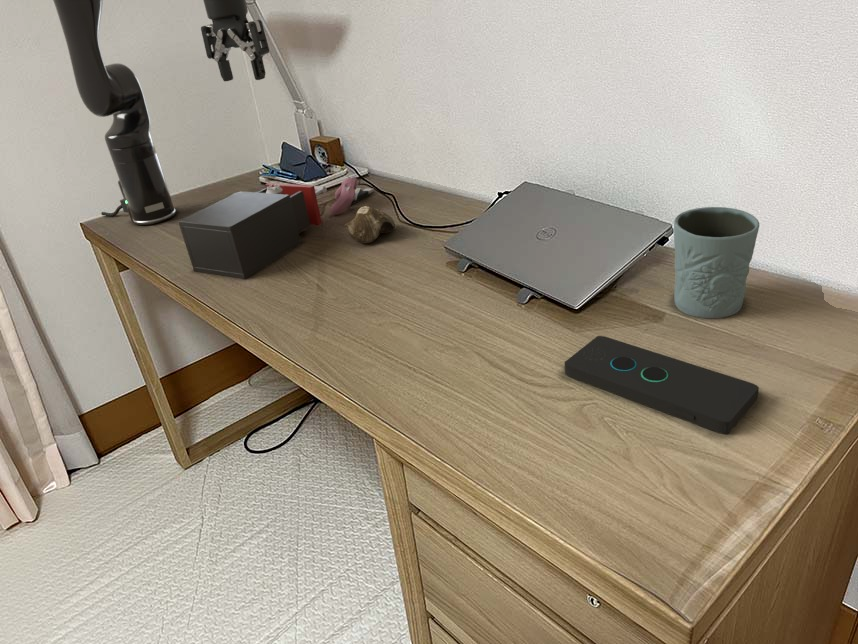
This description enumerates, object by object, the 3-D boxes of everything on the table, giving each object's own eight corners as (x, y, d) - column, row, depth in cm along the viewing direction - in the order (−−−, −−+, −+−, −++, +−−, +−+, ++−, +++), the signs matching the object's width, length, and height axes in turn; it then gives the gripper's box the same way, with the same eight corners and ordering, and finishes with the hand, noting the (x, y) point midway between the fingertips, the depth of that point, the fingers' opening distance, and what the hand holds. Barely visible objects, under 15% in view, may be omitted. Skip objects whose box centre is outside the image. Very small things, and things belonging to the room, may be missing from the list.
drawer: (296, 208, 148) (288, 172, 144) (340, 212, 142) (332, 175, 139) (229, 247, 133) (217, 208, 129) (274, 253, 127) (264, 212, 123)
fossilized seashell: (381, 210, 135) (338, 234, 132) (381, 188, 130) (336, 212, 126) (404, 236, 133) (360, 260, 129) (405, 214, 127) (360, 239, 123)
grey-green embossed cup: (692, 280, 100) (697, 201, 94) (763, 298, 93) (773, 214, 87) (655, 309, 94) (658, 227, 88) (728, 330, 87) (737, 242, 81)
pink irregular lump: (350, 221, 144) (359, 191, 140) (328, 214, 143) (337, 184, 140) (354, 203, 152) (362, 174, 149) (333, 197, 151) (342, 167, 148)
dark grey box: (251, 237, 139) (239, 191, 134) (301, 243, 132) (289, 194, 128) (193, 271, 127) (177, 221, 122) (244, 279, 121) (230, 226, 116)
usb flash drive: (350, 205, 148) (350, 201, 147) (332, 203, 150) (331, 199, 150) (374, 192, 154) (374, 187, 153) (356, 190, 156) (355, 186, 156)
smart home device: (599, 332, 87) (761, 384, 74) (599, 344, 88) (759, 397, 75) (561, 363, 82) (727, 423, 69) (561, 375, 83) (725, 436, 70)
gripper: (264, -17, 127) (284, 74, 135) (209, -10, 134) (231, 76, 142) (235, -12, 122) (258, 83, 129) (180, -5, 128) (204, 85, 136)
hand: (244, 79), depth 136 cm, fingers open, 8 cm apart
